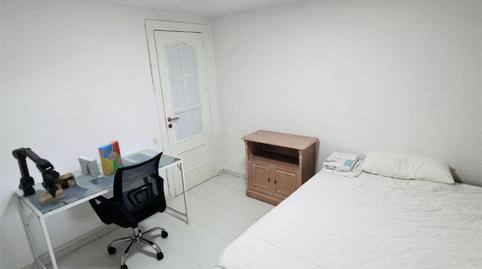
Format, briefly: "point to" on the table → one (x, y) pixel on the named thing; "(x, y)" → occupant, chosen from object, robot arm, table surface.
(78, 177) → the table surface
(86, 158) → the skincare box
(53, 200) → the pad
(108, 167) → the game box
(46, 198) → the block
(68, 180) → the brown storage crate
